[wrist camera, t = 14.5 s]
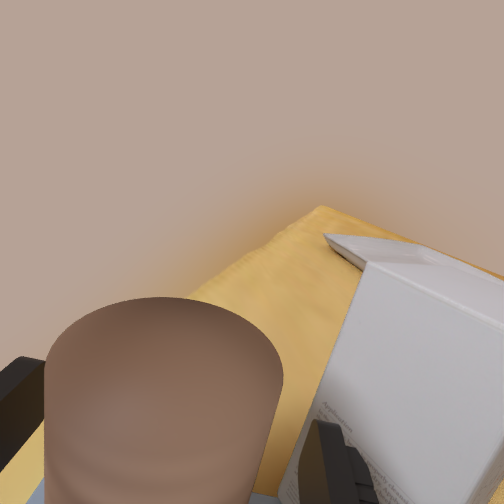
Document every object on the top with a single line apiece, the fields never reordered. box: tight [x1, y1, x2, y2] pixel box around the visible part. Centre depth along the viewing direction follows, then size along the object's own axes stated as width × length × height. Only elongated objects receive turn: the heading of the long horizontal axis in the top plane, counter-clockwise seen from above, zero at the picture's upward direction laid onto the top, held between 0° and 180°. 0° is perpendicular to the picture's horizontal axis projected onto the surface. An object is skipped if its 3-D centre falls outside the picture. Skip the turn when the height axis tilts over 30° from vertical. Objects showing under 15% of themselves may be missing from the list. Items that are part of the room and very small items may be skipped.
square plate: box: [323, 233, 504, 287], centre depth 58 cm, size 27×27×4 cm
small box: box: [277, 261, 504, 504], centre depth 15 cm, size 8×6×13 cm
